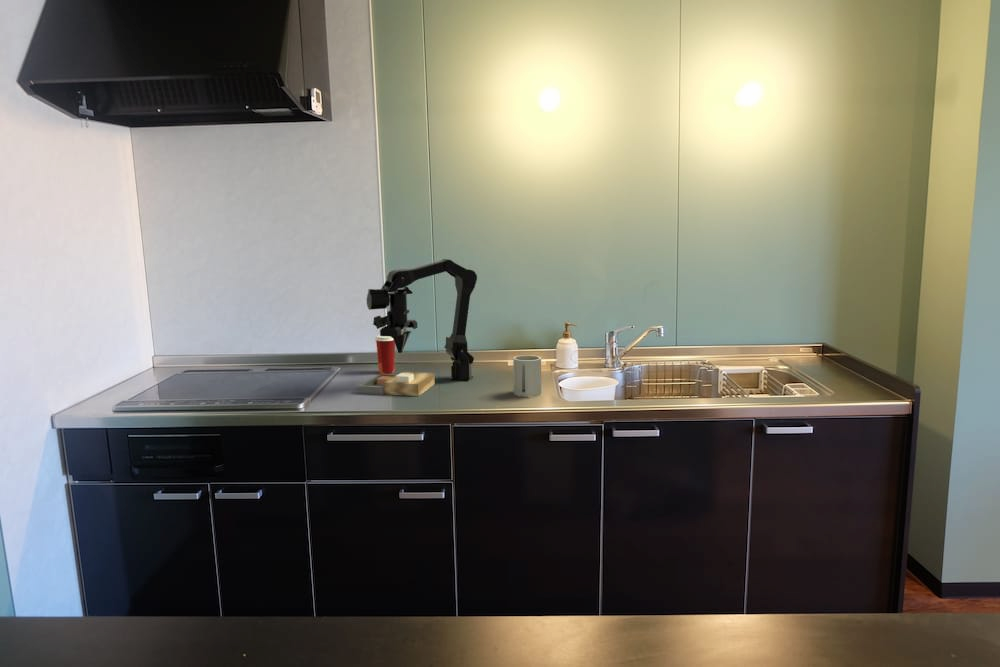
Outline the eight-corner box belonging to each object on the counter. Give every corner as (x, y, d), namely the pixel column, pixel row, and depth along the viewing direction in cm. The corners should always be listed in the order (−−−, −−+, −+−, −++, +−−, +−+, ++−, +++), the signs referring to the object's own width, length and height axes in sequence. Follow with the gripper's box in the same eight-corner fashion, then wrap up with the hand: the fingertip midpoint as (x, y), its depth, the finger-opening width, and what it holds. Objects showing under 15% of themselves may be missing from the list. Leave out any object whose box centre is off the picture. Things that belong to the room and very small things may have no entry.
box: (403, 381, 244) (403, 375, 243) (383, 394, 226) (382, 387, 226) (380, 380, 246) (379, 373, 245) (358, 393, 228) (357, 385, 228)
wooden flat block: (434, 384, 240) (434, 373, 239) (418, 396, 224) (418, 384, 224) (402, 382, 243) (402, 371, 242) (384, 394, 227) (383, 382, 227)
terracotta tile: (381, 376, 242) (382, 381, 243) (376, 379, 238) (376, 384, 238) (393, 376, 241) (393, 382, 242) (388, 379, 237) (389, 385, 237)
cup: (537, 389, 232) (537, 354, 230) (543, 396, 223) (543, 360, 221) (511, 390, 231) (510, 355, 228) (516, 397, 222) (516, 361, 220)
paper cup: (401, 371, 261) (399, 334, 258) (389, 375, 254) (388, 338, 251) (383, 369, 264) (382, 333, 262) (372, 373, 257) (370, 336, 255)
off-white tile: (413, 379, 230) (413, 373, 230) (408, 382, 226) (408, 376, 226) (401, 378, 231) (400, 373, 231) (396, 381, 227) (395, 376, 227)
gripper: (388, 303, 244) (389, 346, 246) (364, 310, 226) (366, 357, 229) (417, 304, 241) (418, 347, 244) (395, 311, 223) (397, 358, 226)
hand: (400, 352), depth 235 cm, fingers closed
